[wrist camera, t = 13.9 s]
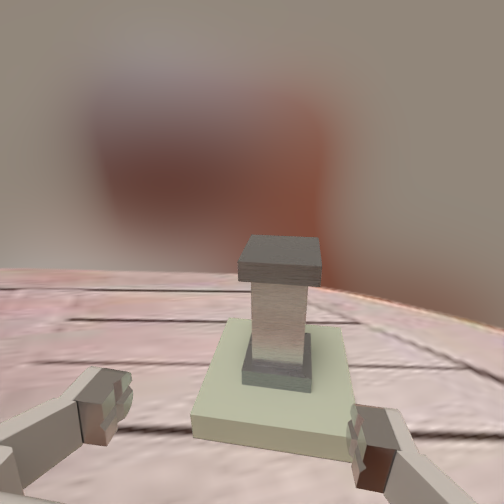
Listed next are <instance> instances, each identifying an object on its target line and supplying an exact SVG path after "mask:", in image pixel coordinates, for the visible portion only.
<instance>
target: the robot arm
mask: <svg viewBox="0 0 504 504" xmlns="http://www.w3.org/2000/svg"><path fill="white" fill-rule="evenodd" d="M131 381H132V377H131V373H129V372H126V371H120V370H114V369H108V368H100V367H94V366H91V367H89V368H87V369H86V370H85V371H84V372H83V373H82V374H81V375H80V376H79V377H78V378H77V379H76V380H75V381H74V382H73V383H72V384H71V385H70V387H69V388H68V389H67V390H66V391H65V392H64V393H63V394H62V395H61V396H60V397H59V398H53V399H51V400H49V401H46V402H44V403H42V404H40V405H38V406H36V407H34V408H32V409H30V410H28V411H25V412H23V413H21V414H19V415H17V416H15V417H13V418H11V419H9V420H6V421H4V422H2V423H0V504H65V503H60V502H54V501H49V500H44V499H38V498H33V497H28V496H25V495H24V491H23V489H24V488H26V487H27V486H28V485H30V484H31V483H32V482H34V481H35V480H36V479H38V478H39V477H40V476H42V475H43V474H44V473H46V472H47V471H48V470H50V469H51V468H52V467H54V466H55V465H57V464H58V463H59V462H61V461H62V460H63V459H65V458H66V457H67V456H69V455H70V454H71V453H73V452H74V451H75V450H77V449H78V448H79V447H81V446H82V445H83V443H84V444H92V445H99V446H107V445H108V444H109V442H110V441H111V439H112V437H113V436H114V434H115V433H116V431H117V430H118V426H117V423H118V422H119V421H121V420H123V419H124V418H125V417H126V415H127V414H128V412H129V410H130V407H131V404H132V399H133V390H132V389H131V388H130V386H129V384H130V383H131ZM350 414H351V418H352V419H351V420H350V421H349V422H348V423H347V429H346V442H347V449H348V453H349V454H350V456H351V457H352V458H353V461H352V465H351V468H352V472H353V477H354V481H355V486H356V488H359V489H364V490H369V491H374V492H379V493H384V496H385V498H386V499H387V500H388V502H389V503H390V504H478V503H476V502H475V501H474V500H473V499H472V498H471V497H470V496H469V495H468V494H467V493H466V492H465V491H463V490H462V489H461V488H460V487H459V486H458V485H457V484H456V483H455V482H454V481H453V480H451V479H450V478H449V477H448V476H447V475H446V474H445V473H444V472H443V471H442V470H441V469H440V468H438V467H437V466H436V465H435V464H434V463H433V462H432V461H431V460H430V459H429V458H428V457H426V456H425V455H423V454H420V453H419V451H418V449H417V447H416V445H415V443H414V440H413V438H412V436H411V434H410V432H409V430H408V428H407V425H406V423H405V421H404V419H403V417H402V415H401V413H400V411H399V410H398V409H392V408H384V407H382V408H381V407H375V406H368V405H360V404H352V406H351V410H350Z"/></svg>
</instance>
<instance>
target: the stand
mask: <svg viewBox="0 0 504 504" xmlns="http://www.w3.org/2000/svg"><path fill="white" fill-rule="evenodd" d="M251 333H252V320H249V319H238V318H229V319H228V321H227V324H226V326H225V329H224V331H223V334H222V336H221V339H220V341H219V344H218V346H217V349H216V351H215V354H214V356H213V359H212V361H211V364H210V366H209V369H208V371H207V374H206V376H205V379H204V381H203V384H202V386H201V389H200V391H199V394H198V396H197V399H196V401H195V404H194V406H193V409H192V411H191V414H190V417H191V425H192V432H193V438H199V439H205V440H212V441H218V442H224V443H231V444H237V445H243V446H250V447H256V448H263V449H269V450H275V451H282V452H288V453H294V454H301V455H307V456H313V457H320V458H326V459H332V460H339V461H345V462H351V463H352V461H353V458H352V457H351V456H350V454H349V453H348V449H347V442H346V429H347V423H348V422H349V421H350V420H351V419H352V418H351V414H350V410H351V406H352V404H355V399H354V394H353V389H352V384H351V379H350V373H349V368H348V363H347V358H346V353H345V348H344V342H343V337H342V332H341V328H339V327H328V326H317V325H306V324H305V333H311V362H312V384H311V393H303V392H296V391H288V390H280V389H272V388H265V387H257V386H249V385H242V373H241V370H242V366H243V363H244V359H245V355H246V351H247V348H248V344H249V340H250V336H251Z"/></svg>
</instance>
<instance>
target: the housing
mask: <svg viewBox="0 0 504 504" xmlns="http://www.w3.org/2000/svg"><path fill="white" fill-rule="evenodd" d="M321 272H322V262H321V254H320V246H319V239H318V238H315V237H313V238H312V237H292V236H291V237H290V236H269V235H251V237H250V239H249V241H248V243H247V244H246V246H245V248H244V250H243V252H242V254H241V256H240V258H239V260H238V281H241V282H251V312H252V333H251V336H250V340H249V344H248V348H247V351H246V355H245V359H244V363H243V366H242V370H241V373H242V385H249V386H257V387H265V388H272V389H280V390H288V391H296V392H303V393H311V384H312V362H311V333H305V323H306V309H307V295H308V286H312V287H320V283H321Z"/></svg>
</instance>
